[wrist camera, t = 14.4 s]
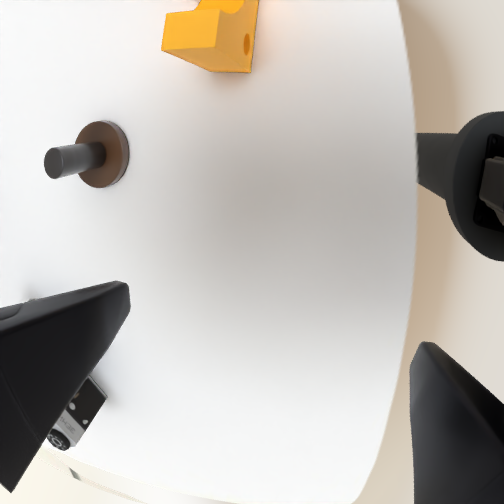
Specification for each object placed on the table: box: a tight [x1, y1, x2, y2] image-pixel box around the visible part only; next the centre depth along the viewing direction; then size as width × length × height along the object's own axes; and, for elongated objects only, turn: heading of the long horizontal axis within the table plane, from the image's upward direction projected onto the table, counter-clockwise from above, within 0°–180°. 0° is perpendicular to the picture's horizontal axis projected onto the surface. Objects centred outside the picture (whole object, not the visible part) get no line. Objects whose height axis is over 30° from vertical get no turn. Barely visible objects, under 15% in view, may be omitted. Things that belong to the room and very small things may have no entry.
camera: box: [31, 300, 107, 451], centre depth 26 cm, size 15×11×10 cm
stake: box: [44, 121, 129, 188], centre depth 19 cm, size 5×5×5 cm
